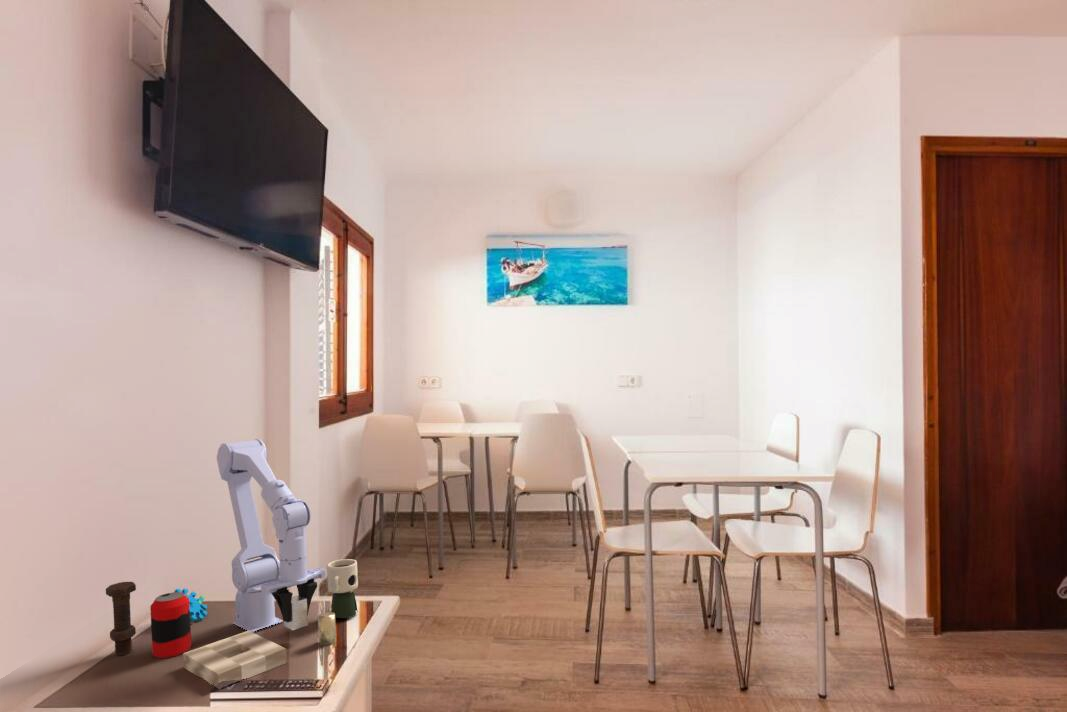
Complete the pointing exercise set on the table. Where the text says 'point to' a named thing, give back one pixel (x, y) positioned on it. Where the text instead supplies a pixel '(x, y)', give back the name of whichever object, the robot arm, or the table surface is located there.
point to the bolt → (122, 616)
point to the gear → (195, 605)
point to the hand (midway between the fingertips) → (295, 617)
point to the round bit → (327, 628)
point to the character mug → (343, 587)
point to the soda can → (170, 625)
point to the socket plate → (234, 658)
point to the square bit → (298, 613)
